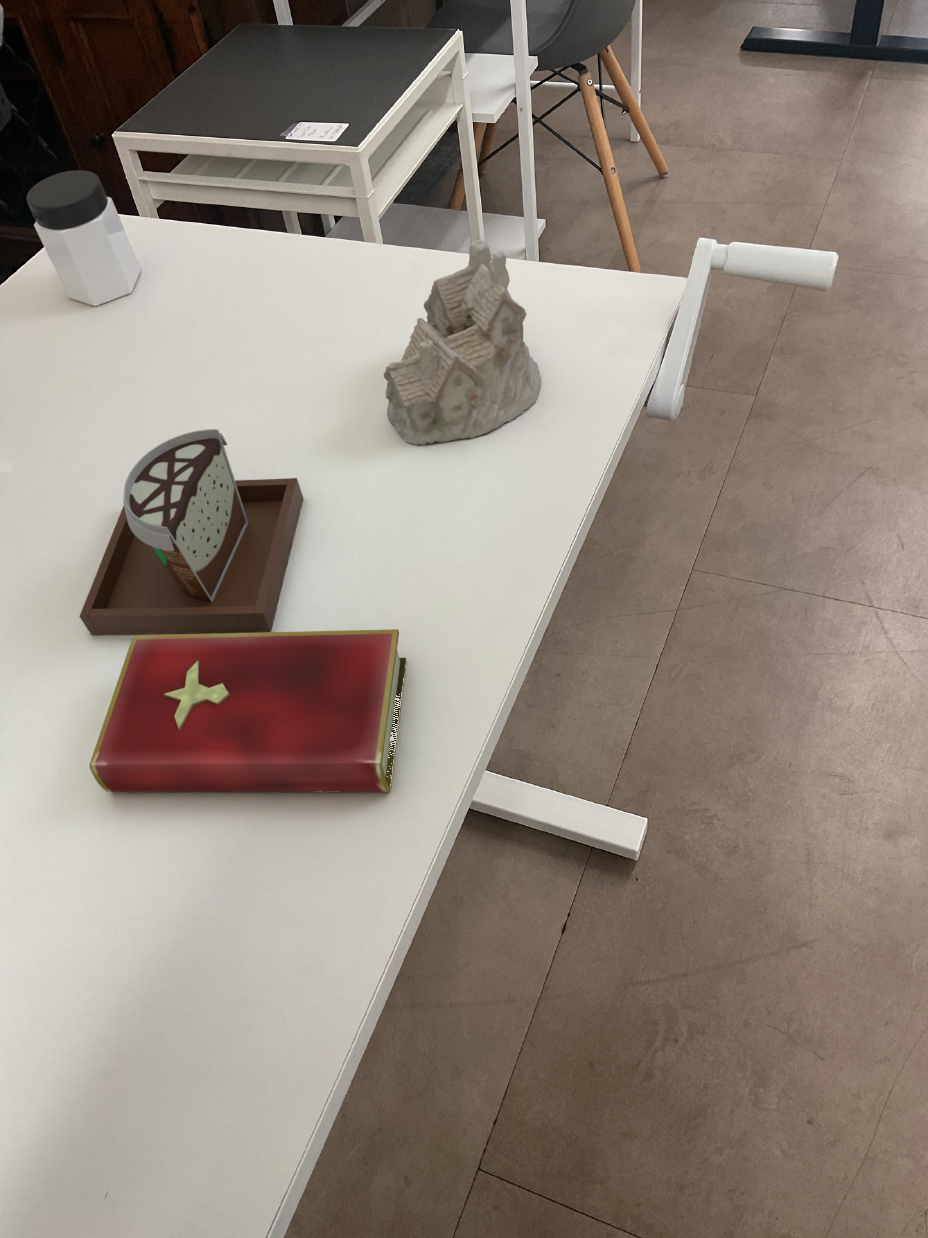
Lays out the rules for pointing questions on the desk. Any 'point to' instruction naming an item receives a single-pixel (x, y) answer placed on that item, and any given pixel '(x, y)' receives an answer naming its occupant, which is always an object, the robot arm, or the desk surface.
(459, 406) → the ceramic cottage
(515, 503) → the desk surface
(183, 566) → the food container
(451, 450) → the desk surface
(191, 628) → the tray
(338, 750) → the hardcover book
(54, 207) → the jar
